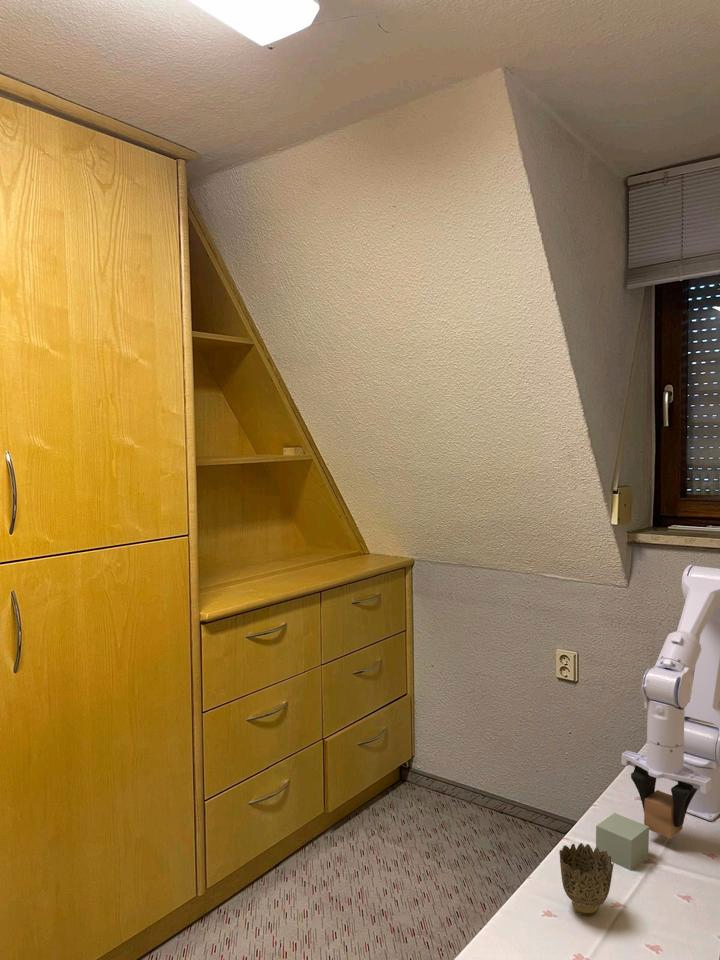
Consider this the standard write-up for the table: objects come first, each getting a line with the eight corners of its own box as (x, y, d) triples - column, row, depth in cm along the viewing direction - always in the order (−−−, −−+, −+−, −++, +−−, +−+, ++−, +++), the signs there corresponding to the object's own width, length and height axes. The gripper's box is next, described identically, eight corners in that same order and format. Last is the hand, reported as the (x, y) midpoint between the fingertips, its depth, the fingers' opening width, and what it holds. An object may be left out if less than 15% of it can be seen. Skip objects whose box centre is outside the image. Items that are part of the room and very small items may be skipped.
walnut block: (656, 818, 128) (657, 790, 128) (682, 828, 125) (683, 799, 124) (644, 827, 125) (644, 798, 125) (670, 838, 122) (670, 808, 121)
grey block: (613, 841, 125) (614, 812, 125) (648, 856, 121) (649, 826, 120) (595, 855, 121) (596, 825, 120) (630, 871, 116) (631, 840, 116)
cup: (615, 930, 102) (616, 874, 102) (560, 923, 104) (561, 868, 103) (608, 897, 110) (609, 845, 109) (557, 891, 111) (558, 839, 111)
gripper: (612, 733, 126) (611, 810, 127) (698, 761, 116) (696, 845, 117) (633, 722, 131) (631, 796, 132) (717, 748, 120) (715, 829, 121)
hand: (663, 818), depth 125 cm, fingers closed on walnut block, 4 cm apart
